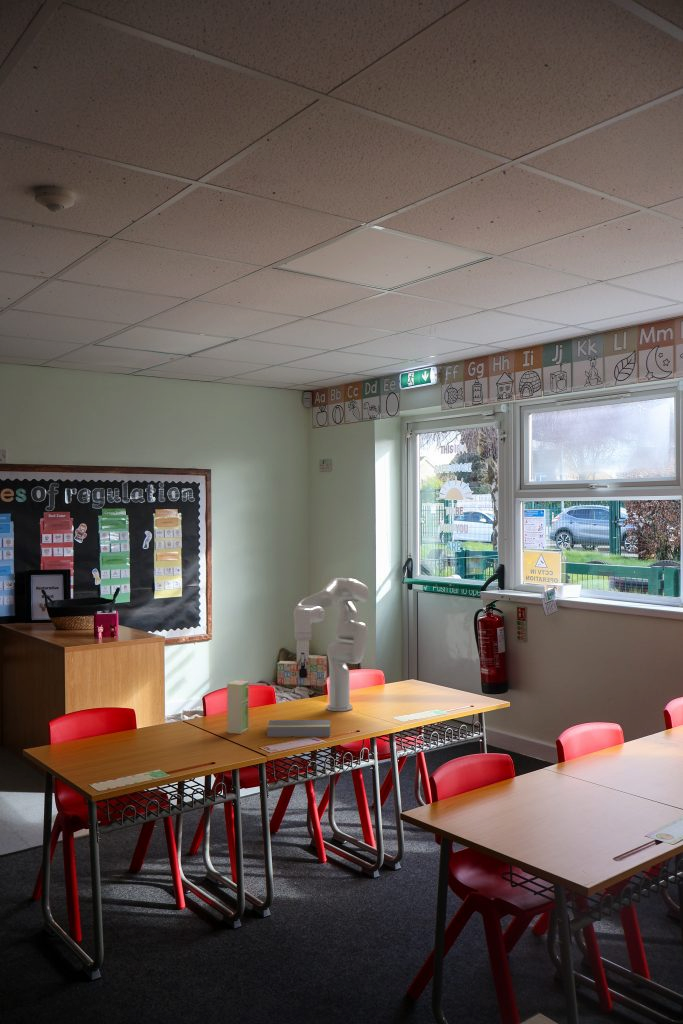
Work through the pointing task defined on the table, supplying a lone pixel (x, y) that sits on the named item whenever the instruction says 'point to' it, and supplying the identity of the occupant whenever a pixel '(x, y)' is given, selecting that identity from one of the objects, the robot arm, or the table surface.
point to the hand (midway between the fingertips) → (303, 675)
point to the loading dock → (298, 728)
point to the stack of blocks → (315, 671)
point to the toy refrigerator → (237, 706)
